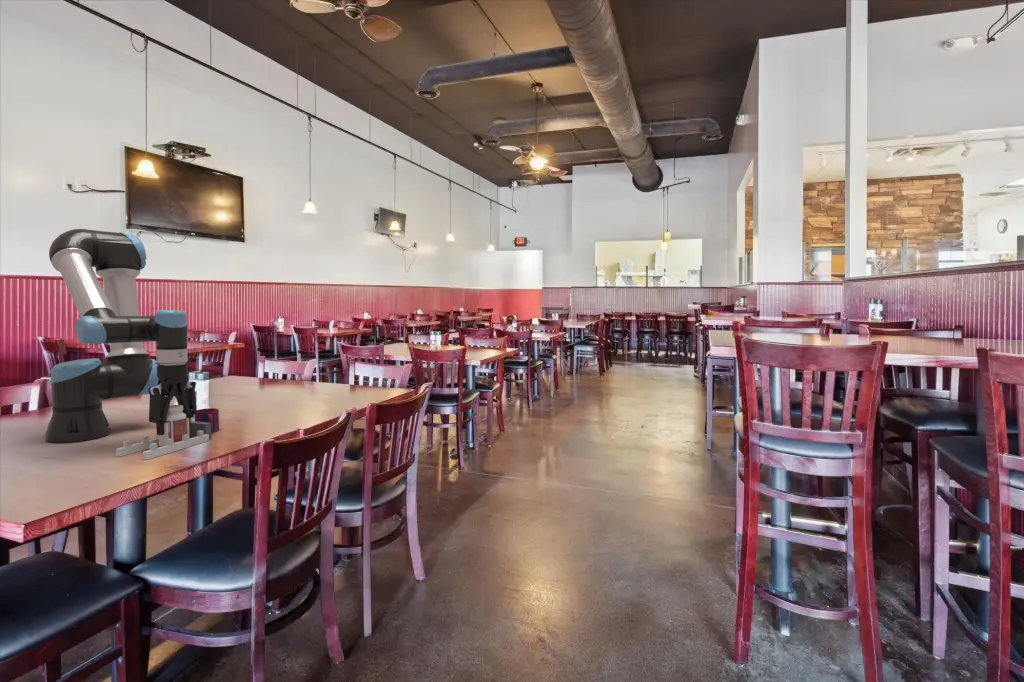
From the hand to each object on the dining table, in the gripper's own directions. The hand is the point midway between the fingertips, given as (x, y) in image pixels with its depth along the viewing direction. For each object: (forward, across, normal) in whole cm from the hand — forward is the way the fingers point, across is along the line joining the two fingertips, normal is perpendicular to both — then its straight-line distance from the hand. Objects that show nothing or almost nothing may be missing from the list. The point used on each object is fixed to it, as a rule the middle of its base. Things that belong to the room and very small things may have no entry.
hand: (174, 442), depth 150 cm
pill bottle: (+1, 0, 0) cm, 1 cm away
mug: (+1, +16, +4) cm, 16 cm away
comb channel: (+1, -3, 0) cm, 3 cm away
